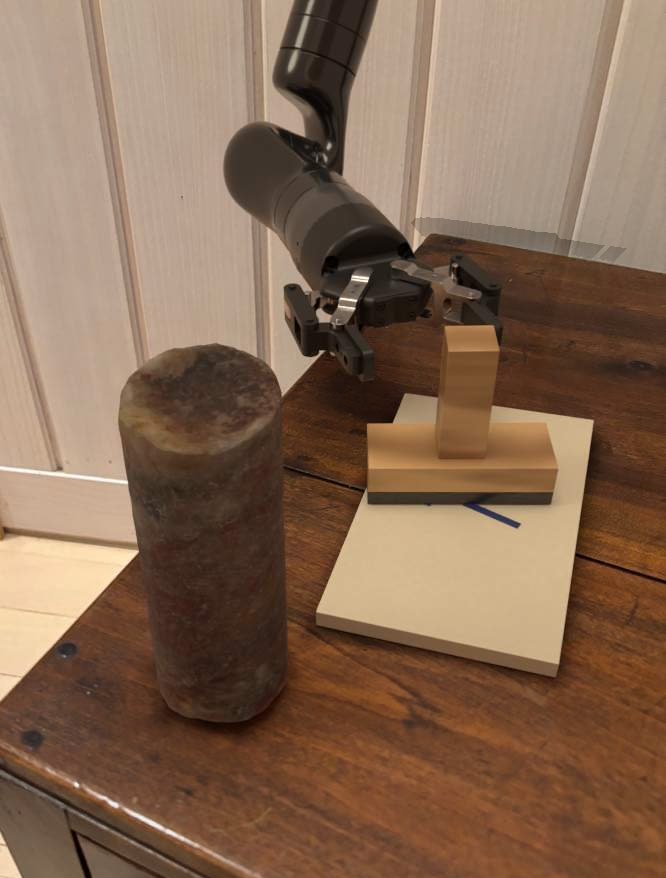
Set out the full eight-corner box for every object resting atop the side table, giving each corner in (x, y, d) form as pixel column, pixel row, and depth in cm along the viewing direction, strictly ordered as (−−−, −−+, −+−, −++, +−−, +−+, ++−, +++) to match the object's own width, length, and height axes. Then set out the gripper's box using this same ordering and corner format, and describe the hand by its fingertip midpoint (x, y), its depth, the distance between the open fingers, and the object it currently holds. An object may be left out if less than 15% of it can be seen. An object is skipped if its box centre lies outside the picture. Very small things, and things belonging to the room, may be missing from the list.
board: (404, 405, 72) (405, 391, 71) (590, 433, 68) (594, 418, 67) (315, 625, 55) (315, 610, 55) (555, 678, 52) (559, 663, 51)
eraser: (366, 458, 65) (370, 318, 58) (539, 457, 64) (566, 315, 57) (367, 503, 61) (372, 361, 54) (551, 504, 60) (581, 358, 53)
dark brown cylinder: (307, 647, 54) (299, 350, 41) (273, 749, 49) (251, 448, 36) (185, 624, 56) (139, 332, 43) (140, 720, 51) (71, 423, 37)
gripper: (252, 217, 66) (326, 323, 55) (436, 186, 69) (544, 281, 57) (258, 311, 71) (326, 427, 60) (429, 279, 74) (526, 384, 62)
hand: (432, 355), depth 58 cm, fingers open, 8 cm apart
